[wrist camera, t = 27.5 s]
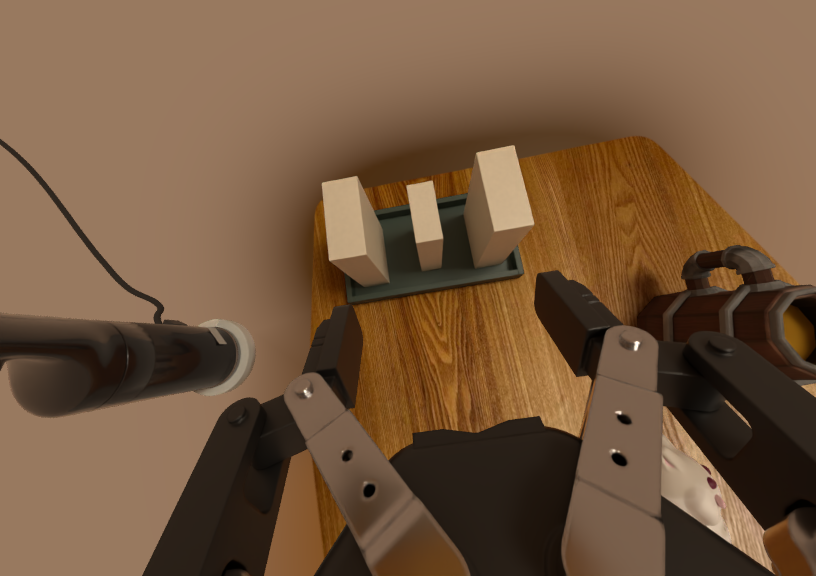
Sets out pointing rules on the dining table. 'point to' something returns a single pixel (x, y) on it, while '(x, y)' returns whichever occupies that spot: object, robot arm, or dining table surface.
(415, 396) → the dining table surface
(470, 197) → the cream book
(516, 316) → the dining table surface
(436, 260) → the thin cream book
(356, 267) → the cream book
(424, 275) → the book tray
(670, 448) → the cream animal figurine
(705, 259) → the mug
